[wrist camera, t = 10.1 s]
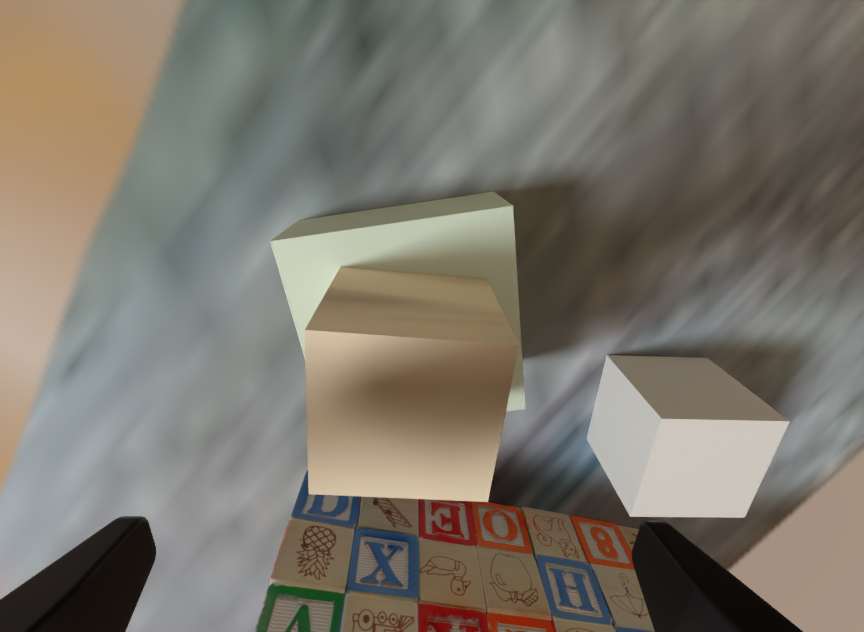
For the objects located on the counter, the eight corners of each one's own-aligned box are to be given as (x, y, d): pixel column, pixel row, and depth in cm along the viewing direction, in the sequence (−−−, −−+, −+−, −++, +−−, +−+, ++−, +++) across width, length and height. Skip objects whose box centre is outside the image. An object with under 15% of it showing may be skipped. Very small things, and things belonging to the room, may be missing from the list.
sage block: (505, 359, 20) (525, 408, 17) (343, 382, 21) (327, 435, 17) (492, 190, 17) (513, 205, 14) (300, 218, 17) (270, 241, 14)
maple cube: (467, 400, 17) (487, 502, 12) (338, 392, 16) (308, 494, 12) (486, 278, 15) (519, 345, 10) (340, 267, 14) (304, 330, 10)
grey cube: (678, 439, 22) (744, 517, 18) (585, 437, 22) (630, 516, 18) (706, 357, 21) (789, 421, 16) (606, 354, 20) (661, 418, 16)
